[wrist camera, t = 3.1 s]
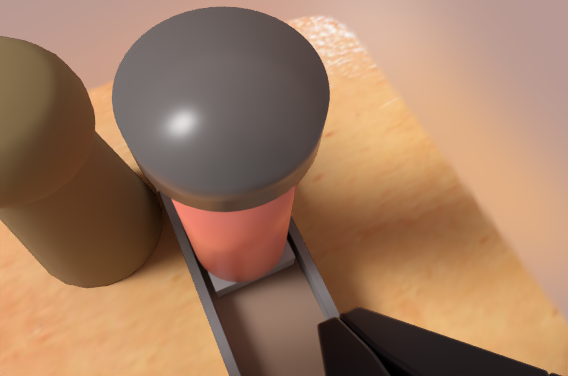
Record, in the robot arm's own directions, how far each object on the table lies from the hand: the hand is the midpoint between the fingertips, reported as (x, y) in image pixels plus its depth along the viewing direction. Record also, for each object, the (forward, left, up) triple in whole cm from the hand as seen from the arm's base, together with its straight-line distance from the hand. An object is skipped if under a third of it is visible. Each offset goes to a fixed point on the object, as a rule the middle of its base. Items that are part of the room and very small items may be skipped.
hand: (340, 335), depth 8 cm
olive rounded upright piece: (+10, +6, -13) cm, 17 cm away
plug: (+6, 0, -12) cm, 13 cm away
